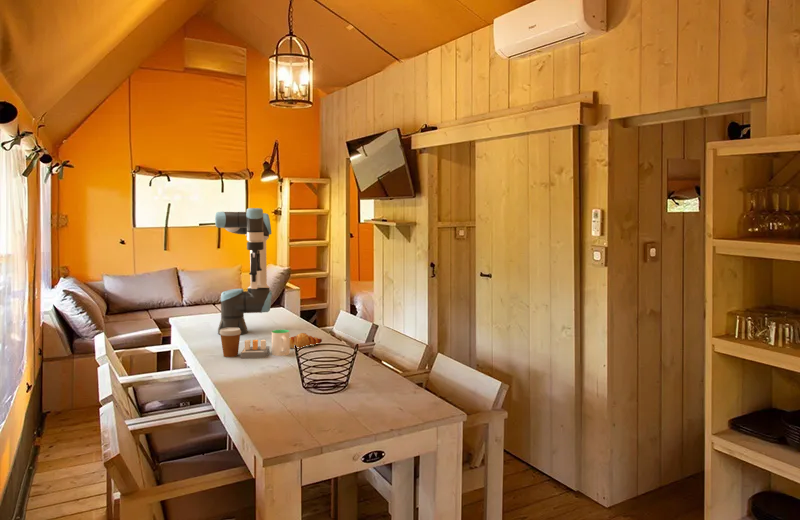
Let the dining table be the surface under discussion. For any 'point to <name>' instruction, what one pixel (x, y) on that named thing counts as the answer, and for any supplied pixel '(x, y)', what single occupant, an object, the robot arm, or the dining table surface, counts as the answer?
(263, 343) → the paddle
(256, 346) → the paddle
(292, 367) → the dining table surface
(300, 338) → the croissant
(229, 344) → the disposable coffee cup
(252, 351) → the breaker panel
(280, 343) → the mug
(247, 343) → the paddle
